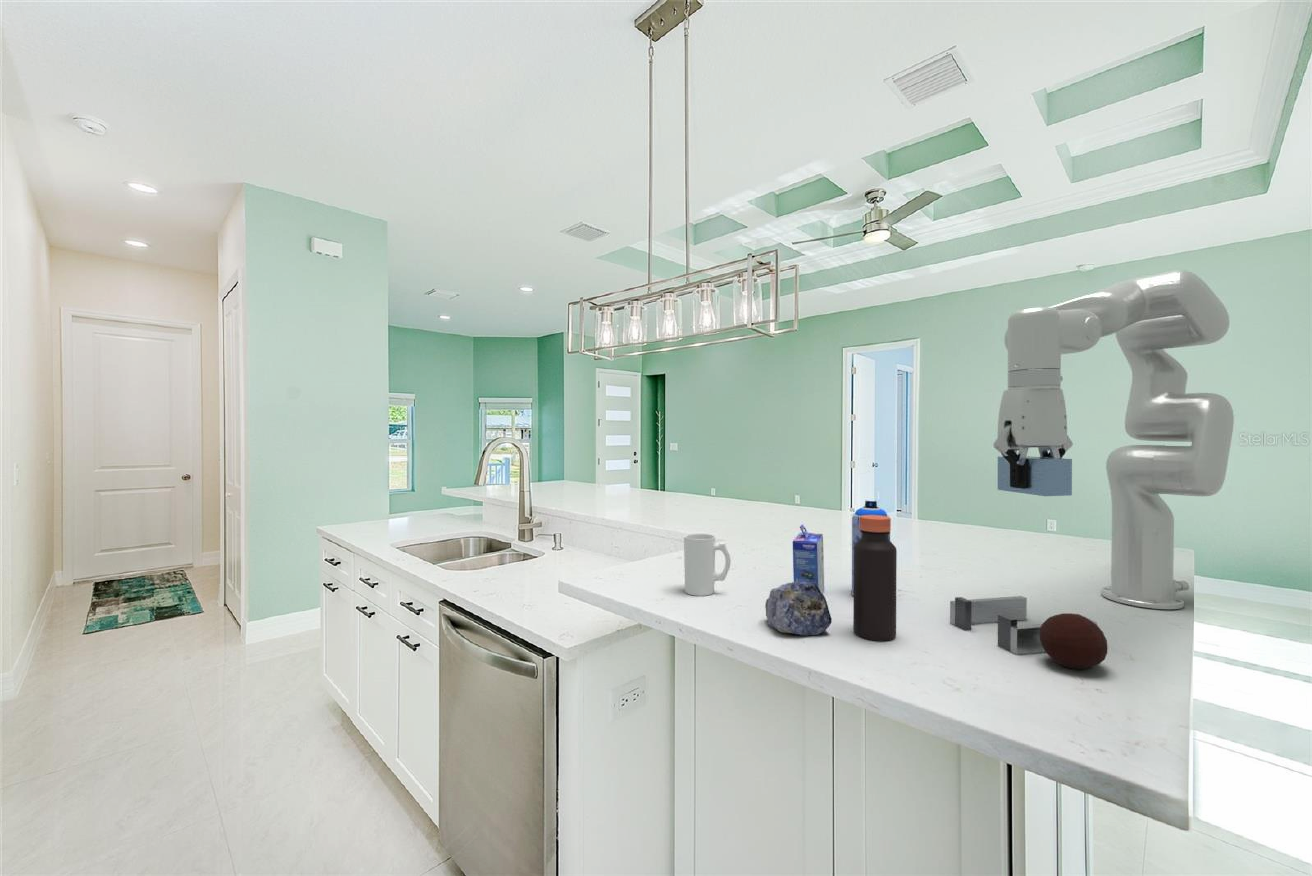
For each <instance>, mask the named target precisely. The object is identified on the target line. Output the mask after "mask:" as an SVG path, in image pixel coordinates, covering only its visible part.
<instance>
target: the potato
mask: <svg viewBox="0 0 1312 876" xmlns="http://www.w3.org/2000/svg"><path fill="white" fill-rule="evenodd" d="M1092 621H1093V620H1091V619H1089V618H1088V617H1086V616H1084V615H1081V614H1080V613H1070V612H1069V613H1067V612H1066V613H1059V614H1055V615H1052V616H1049V617H1048V618H1047V619H1046V620H1045V621H1044V622H1042V623H1041V624H1042V625H1041V628H1040V631H1039V635H1040V641H1041V644H1042V646H1043V648H1044V650H1045V652H1044V653H1046V654H1047V655H1048V656H1049V657H1050V659H1052V660H1053V661H1055V662H1056V663H1058V664H1060V665H1062V666H1065V667H1067V668H1070V669H1075V670H1076V669H1077V670H1089V669H1092V668H1094V667H1096V666H1098V665H1100V664H1101V663H1103V662H1104V661H1105V659H1106V657H1107V655H1108V650H1109V649H1108V648H1109V647H1108V641H1107V638H1106V636H1105V634H1104V632H1103V630H1102V629H1101V628H1100V627H1099V626H1098V624H1097V625H1096V624H1095V623H1094V622H1095V621H1094V622H1092Z"/></svg>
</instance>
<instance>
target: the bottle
mask: <svg viewBox="0 0 1312 876" xmlns="http://www.w3.org/2000/svg"><path fill="white" fill-rule="evenodd" d="M891 522H892V521H891V517H890V516H889V517H886V516H879V515H863V516H860V532H861V533H862V537H861V538H860V539H859V540H858V541H857V542H856V543H855V544H854V597H853V607H852V608H853V612H852V613H853V619H852V620H853V621H852V623H853V624H852V625H853V633H854V634H855V635H857V636H859V638H860V637H861V638H863V639H866V640H870V641H877V642H884V641H885V642H886V641H891V640H894V639H895V638H896V636H897V567H898V566H897V561H898V560H897V559H898V558H897V557H898V556H897V554H898V553H897V547H896V546H895V545H894V543H893V542H892V541H891V539H890V540H889V539H888V534H890V535H891V529H892V528H891V524H892V523H891ZM889 531H890V532H889Z"/></svg>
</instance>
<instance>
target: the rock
mask: <svg viewBox="0 0 1312 876" xmlns="http://www.w3.org/2000/svg"><path fill="white" fill-rule="evenodd" d="M769 592H770V593H769V596H768V598H767V599H766V600H765V603H764V604H765V607H764V608H765V617H766V618H767V622H768V625H769V626H770V627H772V628H774V629H776V630H777V631H779V632H780V633H783V634H795V635H800V636H804V637H806V636H818V635H820V634H822V633H824V632H825V631H826V630H827V629H828V628H829V627H830V626H831V624H832V619H833V618H832V616H831V612H830V610H829V605H828V602H827V599H826V596H825V595H824V594H823V593H821V591H820V589H819V588H818V587H817V585H816V584H815V583H814V582H794V581H792V582H787V583H786V584H785V583H784V584H782V585H780V586H778V587H776V588H775V587H774V588H771V590H770V591H769Z"/></svg>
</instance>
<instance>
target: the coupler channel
mask: <svg viewBox="0 0 1312 876" xmlns="http://www.w3.org/2000/svg"><path fill="white" fill-rule="evenodd" d="M1027 599H1028V598H1027V597H1025V596H1022V595H1017V596H1003V597H989V598H974V599H972V598H971V599H967V598H964V597H962V596H956V597H955V598H954V600H950V602H949V605H950V606H949V615H950V616H949V624H951V625H954V626H955V627H958V628H959V629H962V630H964V631H972V625H978V624H989V623H997V647H1000V648H1001V647H1002V649H1003V648H1004V650H1006V651H1008V652H1010V653H1012V654H1013V655H1017V656H1020V655H1031V654H1039V653H1046V652H1045V650H1044V648H1043V646H1042V644H1041V641H1040V635H1039V631H1040V628H1041V625H1042V624H1043V623H1036V624H1023V625H1018V621H1025V620H1027V617H1028V616H1027V611H1028V609H1027V606H1028V605H1027V604H1028V603H1027V601H1028V600H1027ZM1091 621H1092V622H1094V623H1095V624H1096V625H1097V626H1098V622H1097V621H1095V620H1091Z"/></svg>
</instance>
